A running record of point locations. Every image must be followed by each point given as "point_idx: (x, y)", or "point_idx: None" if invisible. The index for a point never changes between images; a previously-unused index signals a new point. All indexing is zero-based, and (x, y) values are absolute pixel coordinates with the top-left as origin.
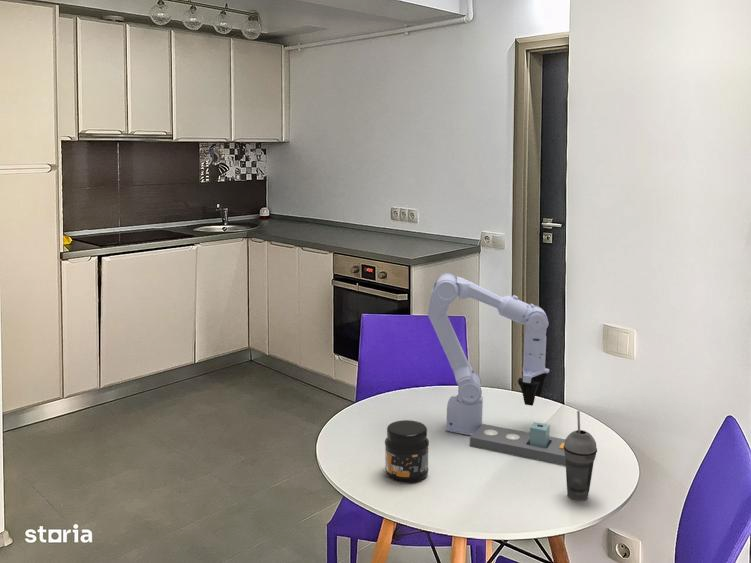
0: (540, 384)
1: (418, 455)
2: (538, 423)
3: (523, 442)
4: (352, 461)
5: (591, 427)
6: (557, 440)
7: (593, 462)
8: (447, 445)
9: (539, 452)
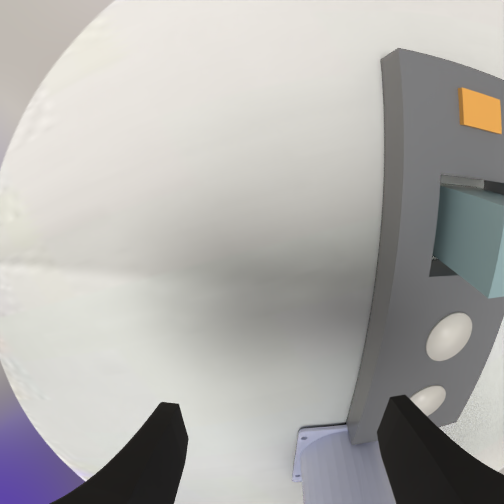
0: (147, 489)
1: None
2: (499, 273)
3: None
4: (494, 464)
5: (82, 79)
6: (432, 150)
7: None
8: None
9: None
